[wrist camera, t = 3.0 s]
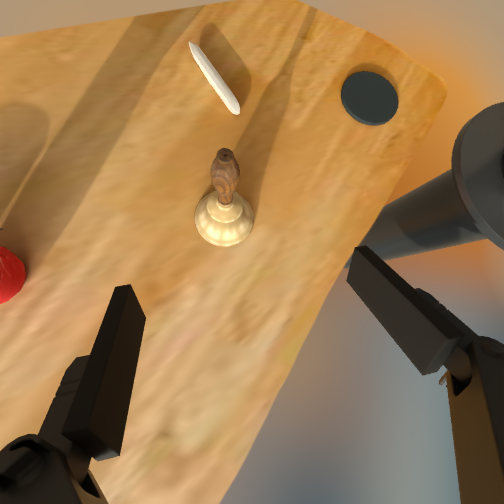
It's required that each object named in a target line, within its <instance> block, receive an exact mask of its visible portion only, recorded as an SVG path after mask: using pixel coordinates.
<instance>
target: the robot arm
mask: <svg viewBox="0 0 504 504" xmlns="http://www.w3.org/2000/svg"><path fill="white" fill-rule="evenodd" d="M502 174H503V178H504V154H503V158H502ZM347 282H348V283H349V284H350V286H351V287H352V288H353V290H354V291H355V292H356V293H357V295H358V296H359V297H360V298H361V299H362V301H363V302H364V303H365V304H366V306H367V307H368V308H369V309H370V311H371V312H372V313H373V314H374V315H375V317H376V318H377V319H378V321H379V322H380V323H381V324H382V326H383V327H384V328H385V329H386V331H387V332H388V333H389V334H390V336H391V337H392V338H393V339H394V341H395V342H396V343H397V344H398V345H399V347H400V348H401V349H402V350H403V352H404V353H405V354H406V355H407V357H408V358H409V359H410V360H411V362H412V363H413V364H414V365H415V367H416V368H417V369H418V370H419V372H420V373H421V374H422V375H426V374H431V373H434V372H437V371H438V370H439V369H440V367H441V366H442V365H444V366H445V367H446V368H447V369H448V370H447V372H446V373H445V374H444V375H443V376H442V378H441V379H440V381H439V384H440V385H442V384H443V383H444V382H445V381H447V385H446V387H447V389H448V398H449V405H450V415H451V423H452V432H453V440H454V448H455V457H456V465H457V473H458V482H459V491H460V499H461V504H504V344H502V343H500V342H499V341H497V340H495V339H492V338H489V337H484V336H478V335H477V334H475V333H474V332H473V331H472V330H471V329H470V328H469V327H468V326H466V325H465V324H464V323H463V322H462V321H461V320H459V319H458V318H457V317H456V316H455V315H454V314H453V313H451V312H450V311H449V310H447V309H446V308H445V307H444V306H443V305H442V304H440V303H439V301H437V300H436V299H435V298H434V297H433V296H432V295H431V294H429V293H427V292H425V291H423V290H422V289H420V288H417V289H414V288H413V287H411V286H410V285H409V284H408V283H407V282H406V281H405V280H404V279H403V278H401V277H400V276H399V275H398V274H397V273H396V272H395V271H394V270H393V269H391V268H390V267H389V266H388V265H387V264H386V263H385V262H384V261H383V260H382V259H381V258H379V257H378V256H377V255H376V254H375V253H374V252H373V251H372V250H371V249H369V248H368V247H367V246H360V247H355V249H354V253H353V257H352V261H351V265H350V269H349V272H348V277H347ZM145 321H146V317H145V315H144V313H143V310H142V308H141V306H140V304H139V302H138V299H137V297H136V295H135V293H134V291H133V288H132V286H131V284H129V285H123V286H117V287H115V289H114V292H113V295H112V297H111V300H110V303H109V305H108V308H107V311H106V313H105V316H104V319H103V321H102V324H101V327H100V329H99V332H98V335H97V337H96V340H95V343H94V345H93V348H92V351H91V353H90V355H87V356H82V357H77V358H76V359H75V360H74V361H73V362H72V364H71V365H70V366H69V367H68V368H67V370H66V372H65V374H64V376H63V378H62V381H61V383H60V386H59V388H58V390H57V392H56V394H55V395H56V397H55V398H54V399H53V401H52V404H51V406H50V408H49V410H48V413H47V415H46V417H45V420H44V422H43V424H42V426H41V429H40V431H39V433H38V435H36V434H27V435H24V436H21V437H18V438H17V439H15V440H14V441H12V442H11V443H9V444H8V445H6V446H5V447H4V448H3V449H2V450H1V451H0V504H108V502H107V500H106V498H105V496H104V495H103V493H102V491H101V489H100V487H99V485H98V484H97V482H96V480H95V478H94V476H93V474H92V473H91V471H90V470H89V469H88V468H89V464H90V461H91V457H93V458H94V459H95V460H97V461H101V460H105V459H109V458H113V457H116V456H120V452H121V447H122V441H123V436H124V431H125V426H126V420H127V415H128V410H129V405H130V399H131V394H132V389H133V384H134V378H135V373H136V368H137V363H138V357H139V352H140V347H141V342H142V336H143V331H144V326H145Z"/></svg>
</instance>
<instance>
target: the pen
mask: <svg viewBox="0 0 504 504" xmlns="http://www.w3.org/2000/svg"><path fill="white" fill-rule="evenodd" d="M189 46H190V49H191V52H192V55H193V57H194V59H195V60H196V62H197V64H198V65H199V67H200V69H201V70H202V72H203V73H204V75H205V76H206V78H207V79H208V81H209V82H210V84H211V85H212V87H213V88H214V89H215V91H216V92H217V94H218V95H219V96H220V98H221V99H222V100H223V102H224V103H225V105H226V106H227V107H228V109H229V110H230V111H231V112H232V113H233V114H236V115H237V114H239V113H240V106H239V103H238V101H237V99H236V98H235V96H234V95H233V93H232V92H231V90H230V89H229V88H228V86H227V85H226V83H225V82H224V81H223V79H222V78H221V76H220V75H219V74H218V72H217V71H216V69H215V68H214V67H213V65H212V64H211V63H210V61H209V60H208V59H207V57H206V56H205V54H204V53H203V52H202V50H201V49H200V48H199V47H198V46H197V45H196V44H194V43H192V42H190V41H189Z"/></svg>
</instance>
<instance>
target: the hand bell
mask: <svg viewBox="0 0 504 504" xmlns="http://www.w3.org/2000/svg"><path fill="white" fill-rule="evenodd" d="M239 177H240V170H239V166H238V163H237V161H236V160H235V158H234V155H233V152H232V151H231V150H229V149H227V148H222V149H220V150H219V151H218V153H217V156H216V158H215V159H214V161H213V163H212V166H211V180H212V183H213V186H214V188H215V189H216V190H215V191H213V192H212V193H209V194H208V195H206V196H205V197H204V198H203V199H202V200H201V201H200V202H199V204H198V206H197V208H196V211H195V225H196V228H197V230H198V232H199V233H200V235H201V236H202V237H203V238H204V239H205V240H206V241H208V242H210V243H211V244H214V245H217V246H224V247H225V246H233V245H235V244H238V243H240V242H241V241H243V240H244V239H245V238H246V237H247V236H248V235H249V233H250V232H251V229H252V227H253V222H254V216H253V211H252V208H251V206H250V204H249V203H248V201H247V200H246V199H245V198H244V197H242V196H241V195H240V194H238V193H237V192H236V191H234V190H235V189H236V187H237V185H238V182H239Z"/></svg>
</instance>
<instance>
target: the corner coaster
mask: <svg viewBox="0 0 504 504" xmlns="http://www.w3.org/2000/svg"><path fill="white" fill-rule="evenodd" d="M341 99H342V103H343V105H344V107H345V109H346V111H347V112H348V113H349V114H350V115H351V116H352V117H353V118H354V119H356V120H357V121H359V122H361V123H364V124H367V125H381V124H384V123H386V122H388V121H389V120H390V119H391V118H392V117H393V116H394V115H395V113H396V111H397V109H398V96H397V93H396V91H395V89H394V87H393V86H392V85H391V83H390V82H389V81H388V80H386V79H385V78H384V77H382V76H380V75H378V74H376V73H373V72H366V71H363V72H357V73H355V74H353V75H351V76H350V77H349V78H348V79H347V80H346V81H345V83H344V85H343V87H342V90H341Z"/></svg>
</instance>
